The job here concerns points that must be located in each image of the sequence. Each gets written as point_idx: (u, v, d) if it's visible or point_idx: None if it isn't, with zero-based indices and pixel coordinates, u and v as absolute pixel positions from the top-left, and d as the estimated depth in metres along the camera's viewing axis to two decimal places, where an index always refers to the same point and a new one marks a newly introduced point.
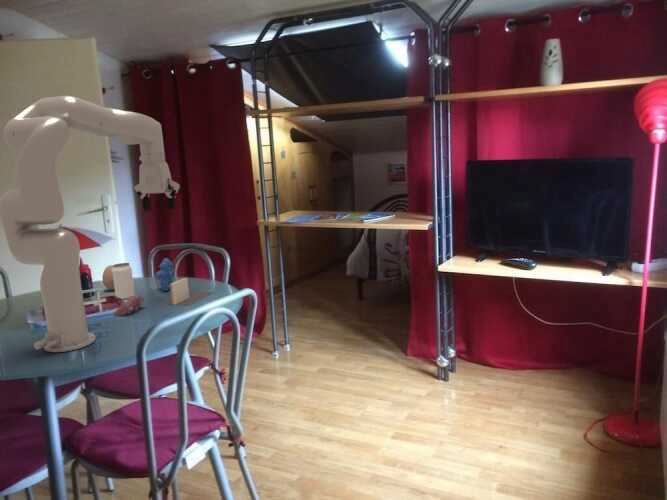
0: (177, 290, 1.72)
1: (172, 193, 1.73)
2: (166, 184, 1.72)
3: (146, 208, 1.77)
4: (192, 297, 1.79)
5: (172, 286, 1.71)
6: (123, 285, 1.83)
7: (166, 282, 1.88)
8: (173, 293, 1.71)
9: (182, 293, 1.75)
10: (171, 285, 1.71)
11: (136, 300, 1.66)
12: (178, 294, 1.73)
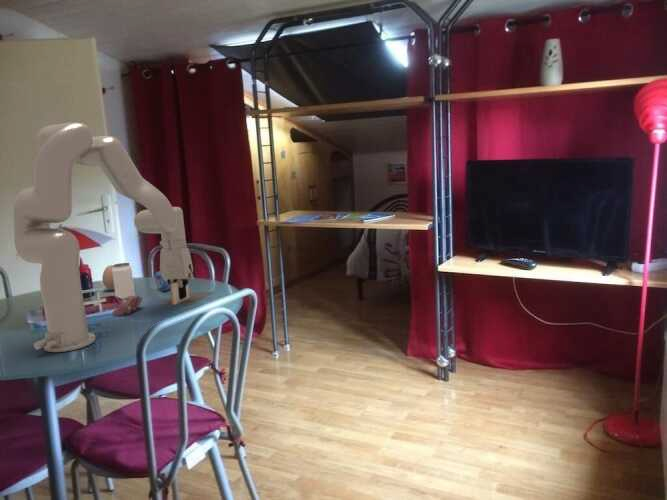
0: (177, 290, 1.72)
1: (183, 283, 1.73)
2: None
3: None
4: (192, 297, 1.79)
5: (172, 286, 1.71)
6: (123, 285, 1.83)
7: (166, 282, 1.88)
8: (173, 293, 1.71)
9: None
10: (171, 285, 1.71)
11: (134, 300, 1.66)
12: (178, 294, 1.73)
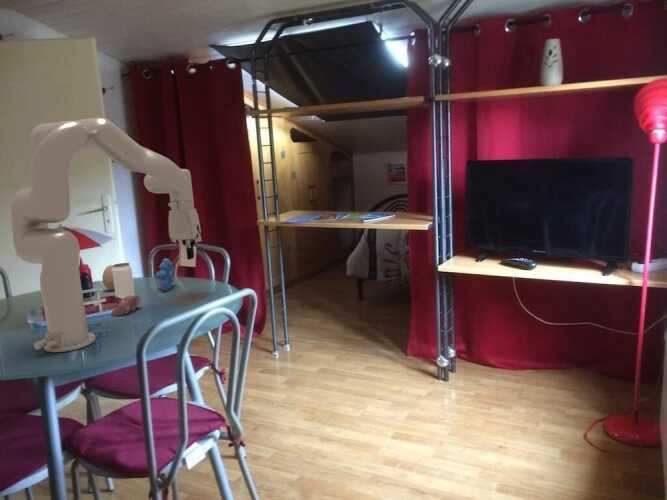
0: (185, 253, 1.77)
1: (191, 243, 1.77)
2: None
3: None
4: (192, 297, 1.79)
5: (181, 247, 1.75)
6: (123, 285, 1.83)
7: (166, 282, 1.88)
8: (181, 254, 1.75)
9: None
10: (181, 246, 1.76)
11: (133, 300, 1.66)
12: (186, 257, 1.77)
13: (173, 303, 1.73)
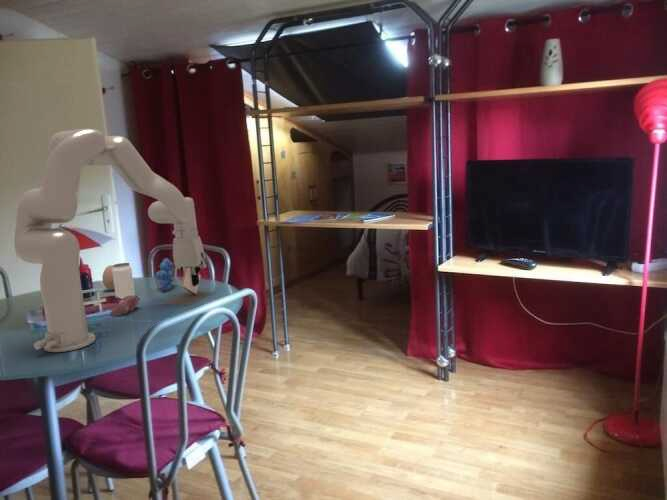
0: (190, 276, 1.79)
1: (196, 270, 1.80)
2: None
3: None
4: (192, 297, 1.79)
5: (187, 269, 1.79)
6: (123, 285, 1.83)
7: (166, 282, 1.88)
8: (186, 276, 1.78)
9: (192, 284, 1.81)
10: (186, 268, 1.79)
11: (132, 300, 1.66)
12: (189, 281, 1.79)
13: (173, 303, 1.73)
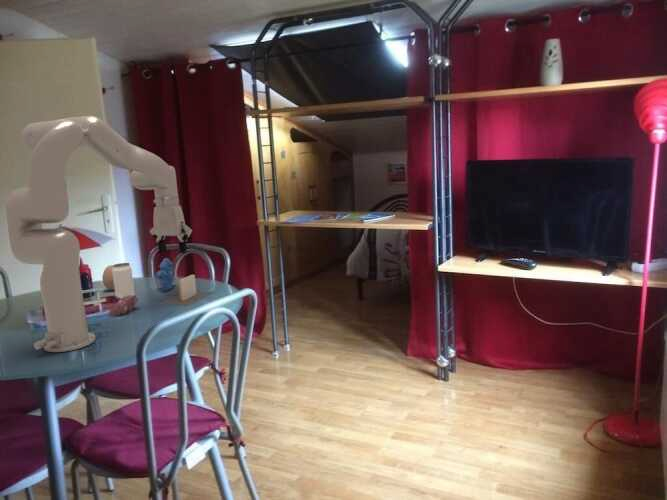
0: (185, 286, 1.77)
1: (184, 237, 1.77)
2: (180, 228, 1.76)
3: (162, 251, 1.81)
4: (192, 297, 1.79)
5: (180, 283, 1.75)
6: (123, 285, 1.83)
7: (166, 282, 1.88)
8: (181, 289, 1.75)
9: (190, 289, 1.79)
10: (179, 282, 1.75)
11: (130, 300, 1.66)
12: (186, 290, 1.77)
13: (173, 303, 1.73)
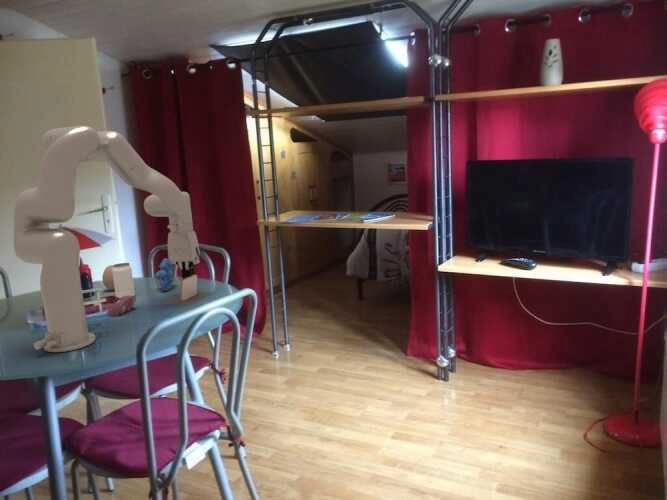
0: (187, 287, 1.76)
1: (189, 265, 1.79)
2: None
3: None
4: (192, 297, 1.79)
5: (183, 283, 1.74)
6: (123, 285, 1.83)
7: (166, 282, 1.88)
8: (183, 289, 1.75)
9: (191, 290, 1.79)
10: (182, 282, 1.74)
11: (129, 300, 1.66)
12: (187, 291, 1.77)
13: (173, 303, 1.73)
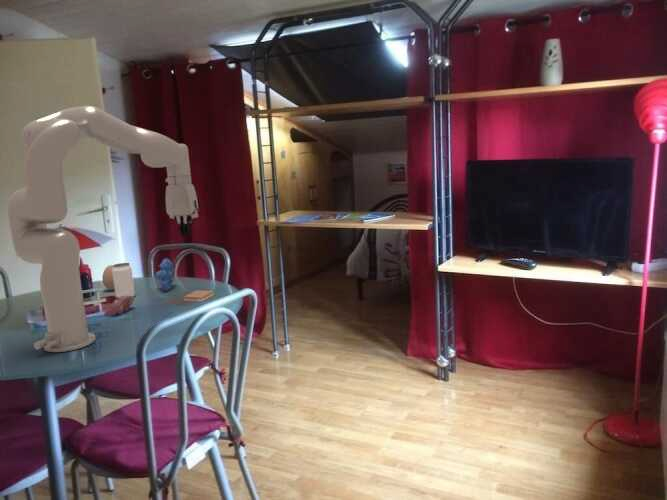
0: None
1: (187, 219, 1.76)
2: None
3: None
4: None
5: (199, 300, 1.74)
6: (123, 285, 1.83)
7: (166, 282, 1.88)
8: (193, 299, 1.74)
9: None
10: (200, 299, 1.74)
11: (126, 300, 1.66)
12: None
13: (173, 303, 1.73)
